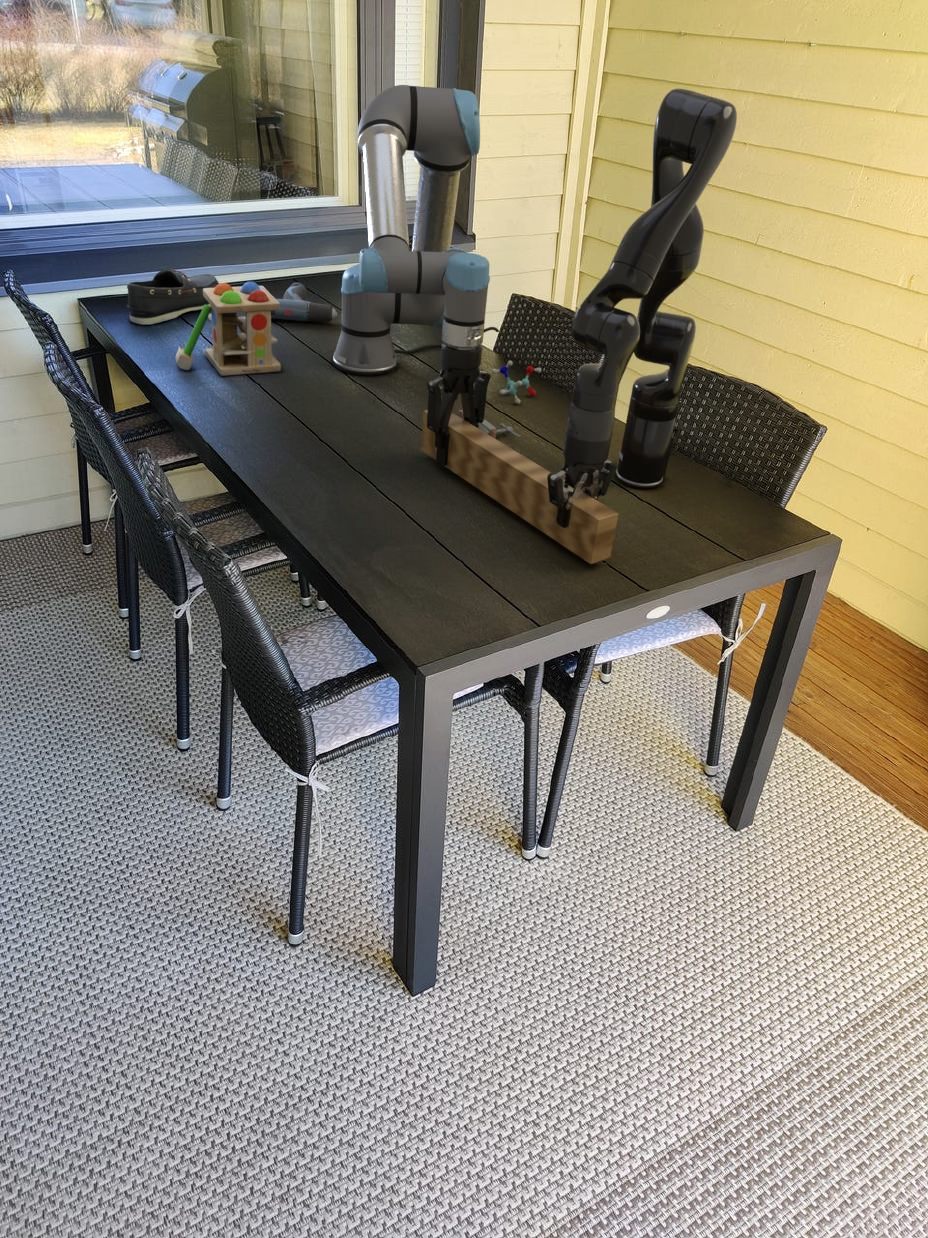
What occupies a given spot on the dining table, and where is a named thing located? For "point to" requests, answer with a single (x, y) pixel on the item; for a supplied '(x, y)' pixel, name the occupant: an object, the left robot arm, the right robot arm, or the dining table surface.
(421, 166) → the left robot arm
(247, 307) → the pounding bench toy
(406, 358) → the dining table surface
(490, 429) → the clamp
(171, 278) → the boat shoe
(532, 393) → the molecular model
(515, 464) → the bar
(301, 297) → the power drill
